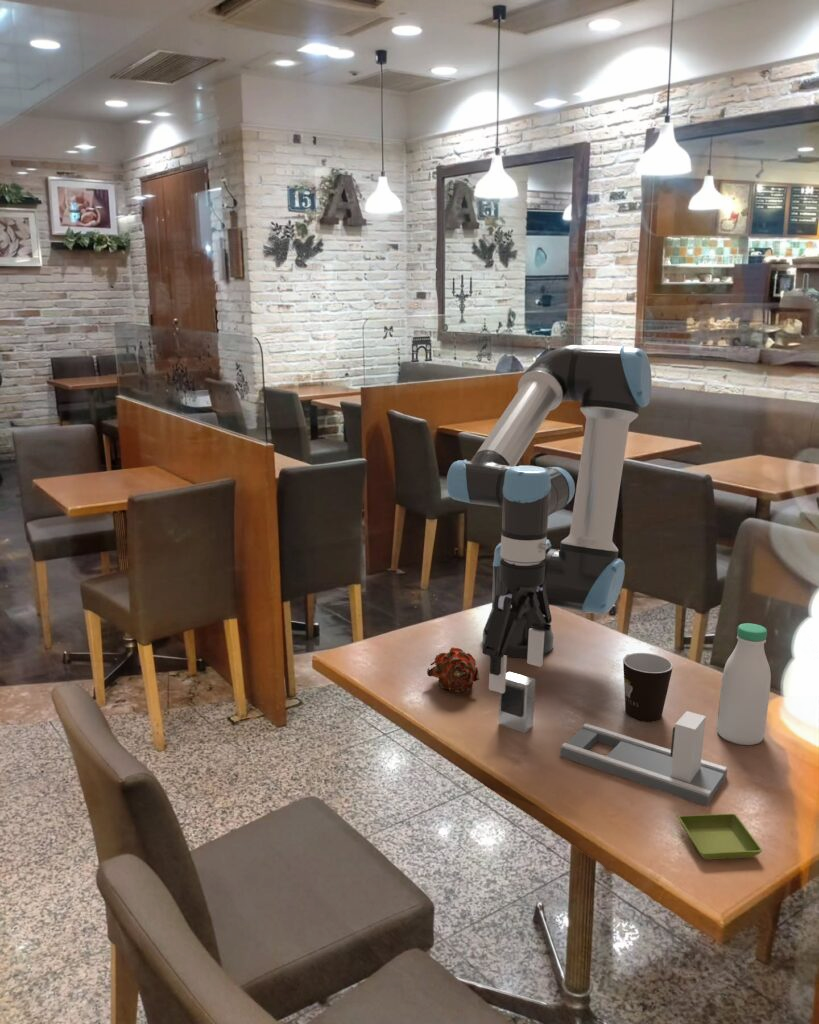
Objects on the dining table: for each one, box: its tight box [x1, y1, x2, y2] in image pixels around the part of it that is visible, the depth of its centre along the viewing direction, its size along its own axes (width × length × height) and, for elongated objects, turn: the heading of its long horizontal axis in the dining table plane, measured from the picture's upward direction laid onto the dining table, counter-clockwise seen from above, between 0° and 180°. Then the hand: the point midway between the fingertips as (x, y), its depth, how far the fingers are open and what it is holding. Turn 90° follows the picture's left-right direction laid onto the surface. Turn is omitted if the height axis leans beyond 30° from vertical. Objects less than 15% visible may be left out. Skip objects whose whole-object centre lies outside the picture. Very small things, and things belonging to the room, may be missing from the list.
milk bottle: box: [716, 622, 772, 746], centre depth 149 cm, size 8×8×20 cm
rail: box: [559, 710, 728, 807], centre depth 140 cm, size 10×24×10 cm, turn 55°
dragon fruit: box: [426, 646, 480, 694], centre depth 167 cm, size 8×8×12 cm
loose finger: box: [498, 671, 536, 734], centre depth 153 cm, size 5×4×9 cm
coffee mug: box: [622, 652, 674, 723], centre depth 159 cm, size 12×9×10 cm
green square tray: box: [677, 813, 763, 861], centre depth 122 cm, size 9×9×2 cm
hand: (516, 677), depth 151 cm, fingers open, 13 cm apart
